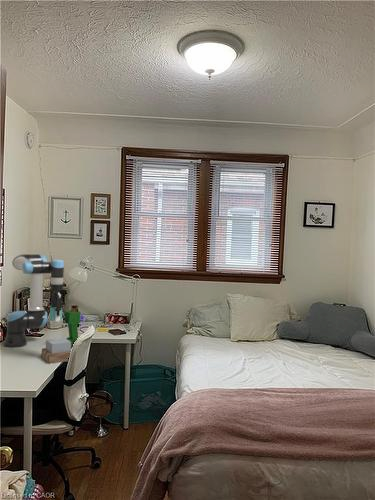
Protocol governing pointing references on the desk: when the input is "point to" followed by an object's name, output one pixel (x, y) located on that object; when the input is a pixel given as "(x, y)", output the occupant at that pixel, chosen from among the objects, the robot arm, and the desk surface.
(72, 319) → the toy
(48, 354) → the tower base
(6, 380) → the desk surface
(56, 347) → the tower top
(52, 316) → the block
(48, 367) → the desk surface
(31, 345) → the desk surface
